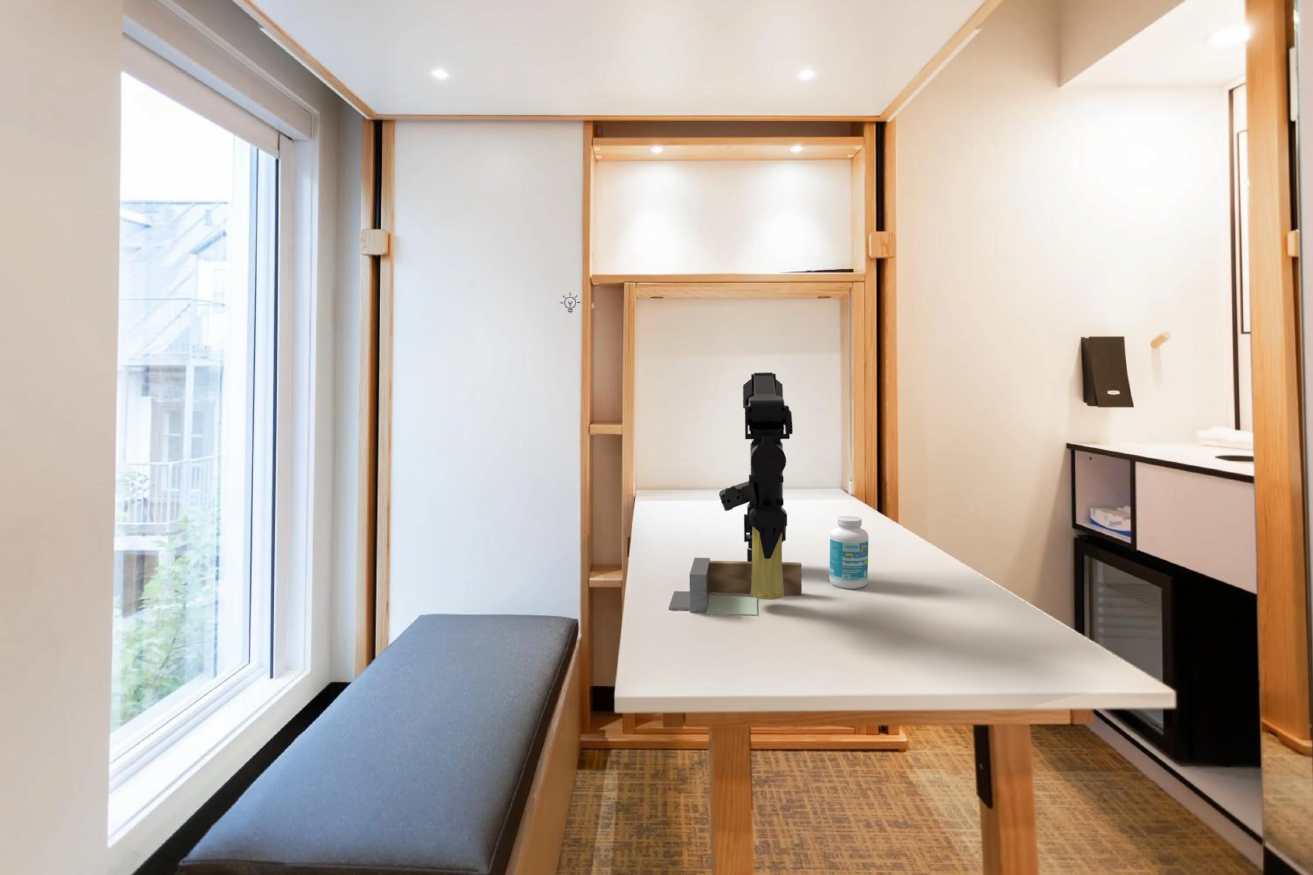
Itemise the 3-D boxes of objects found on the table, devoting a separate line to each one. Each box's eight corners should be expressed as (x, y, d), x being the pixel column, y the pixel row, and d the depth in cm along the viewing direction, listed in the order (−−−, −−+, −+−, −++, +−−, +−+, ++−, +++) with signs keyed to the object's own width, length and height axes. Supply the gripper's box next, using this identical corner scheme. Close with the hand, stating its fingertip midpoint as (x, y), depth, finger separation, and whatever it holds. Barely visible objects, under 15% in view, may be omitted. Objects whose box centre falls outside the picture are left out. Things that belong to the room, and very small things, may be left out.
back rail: (801, 592, 129) (801, 562, 129) (801, 595, 128) (801, 564, 127) (695, 589, 132) (695, 560, 132) (695, 592, 131) (694, 562, 130)
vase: (787, 591, 123) (787, 515, 122) (779, 601, 118) (779, 522, 116) (755, 587, 126) (755, 513, 124) (746, 597, 120) (745, 520, 119)
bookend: (710, 592, 130) (710, 557, 130) (706, 612, 120) (706, 574, 119) (674, 591, 131) (674, 557, 131) (668, 611, 121) (667, 573, 120)
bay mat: (756, 598, 127) (756, 597, 127) (757, 615, 118) (757, 614, 118) (709, 596, 128) (709, 595, 128) (706, 613, 119) (706, 612, 119)
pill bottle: (843, 591, 129) (844, 523, 128) (822, 580, 136) (822, 516, 135) (875, 587, 132) (876, 520, 131) (853, 576, 139) (853, 512, 138)
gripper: (723, 462, 130) (724, 540, 131) (719, 477, 111) (720, 568, 113) (781, 461, 128) (781, 541, 130) (787, 477, 110) (787, 569, 111)
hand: (766, 554), depth 121 cm, fingers closed on vase, 5 cm apart
